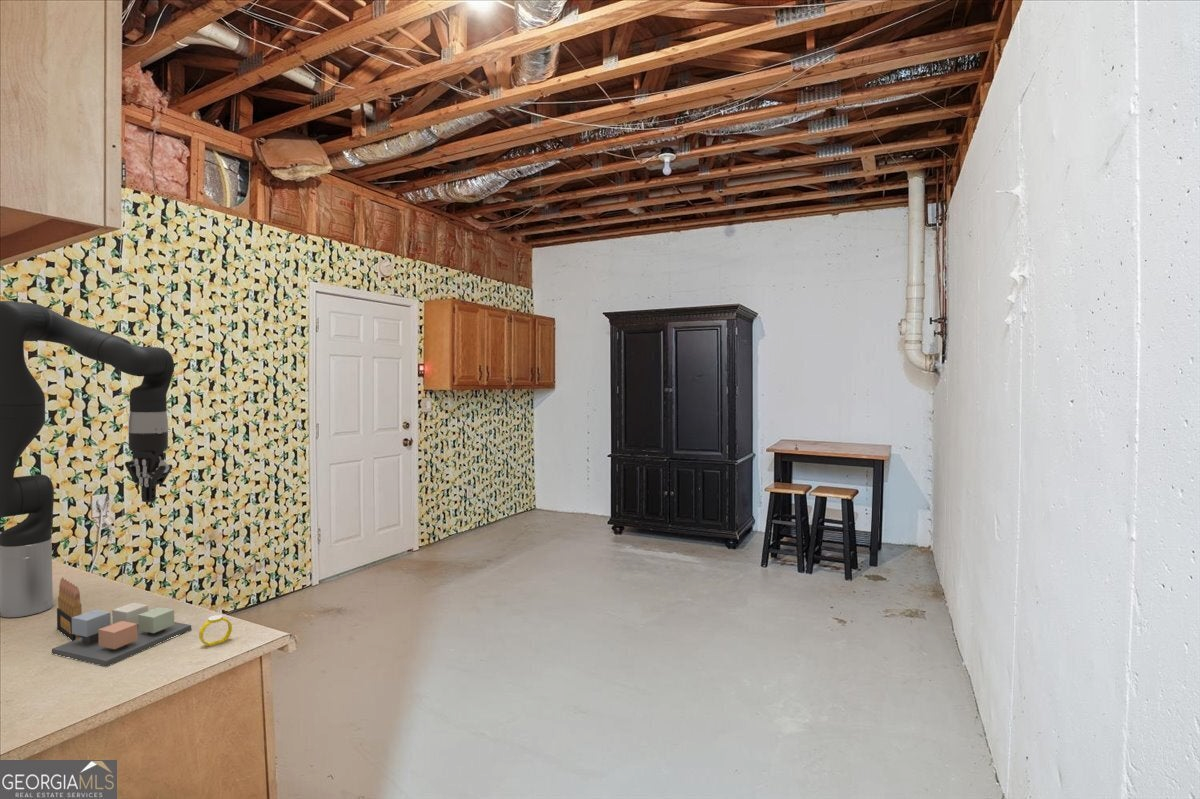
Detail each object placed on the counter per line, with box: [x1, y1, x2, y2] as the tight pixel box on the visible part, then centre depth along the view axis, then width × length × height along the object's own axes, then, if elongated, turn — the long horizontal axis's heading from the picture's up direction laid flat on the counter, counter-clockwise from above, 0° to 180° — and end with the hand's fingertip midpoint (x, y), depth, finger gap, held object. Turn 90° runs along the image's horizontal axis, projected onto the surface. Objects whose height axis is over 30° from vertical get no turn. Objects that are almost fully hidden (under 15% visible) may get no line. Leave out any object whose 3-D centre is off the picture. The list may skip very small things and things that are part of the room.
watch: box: [198, 614, 233, 647], centre depth 130 cm, size 6×3×6 cm, turn 139°
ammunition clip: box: [56, 577, 83, 641], centre depth 133 cm, size 11×2×12 cm, turn 57°
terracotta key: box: [98, 621, 138, 649], centre depth 125 cm, size 5×5×4 cm
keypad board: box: [51, 621, 192, 667], centre depth 130 cm, size 16×18×4 cm
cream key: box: [111, 602, 149, 624], centre depth 135 cm, size 5×5×4 cm
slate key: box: [72, 609, 112, 637], centre depth 127 cm, size 5×5×4 cm
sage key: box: [138, 606, 175, 633], centre depth 132 cm, size 5×5×4 cm
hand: (148, 501), depth 142 cm, fingers closed
